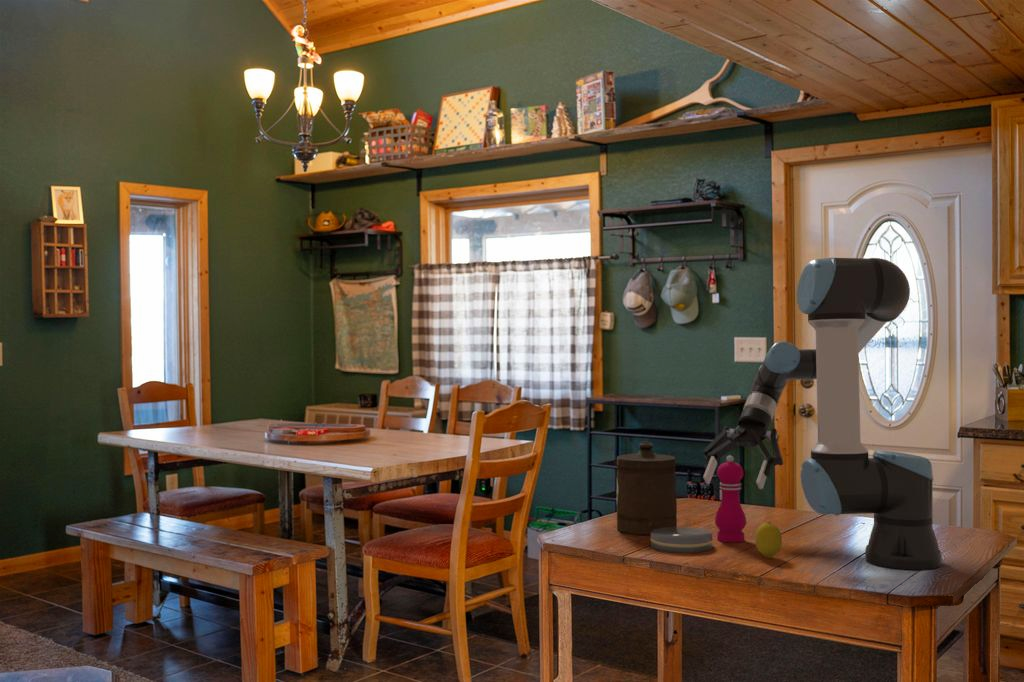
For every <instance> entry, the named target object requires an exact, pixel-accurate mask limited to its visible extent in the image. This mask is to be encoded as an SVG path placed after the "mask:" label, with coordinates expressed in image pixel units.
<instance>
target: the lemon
mask: <svg viewBox="0 0 1024 682" xmlns="http://www.w3.org/2000/svg"><path fill="white" fill-rule="evenodd" d="M780 530H781V529H780V528H779V527H778V526H776V525H775V524H773V522H772V523H771V521H766V522H765V523H762V524H761V525H760V526H758V528H757V530H756V534H755V546H756V549H757V550H758V551H759V553H761V554H762V555H764V556H765V558H767V559H771V558H772V557H773V556H774V555H777V554H778V553H779V552H780V550H781V548H782V542H783V541H782V539H783V538H782V537H783V536H782V533H781V531H780Z"/></svg>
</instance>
